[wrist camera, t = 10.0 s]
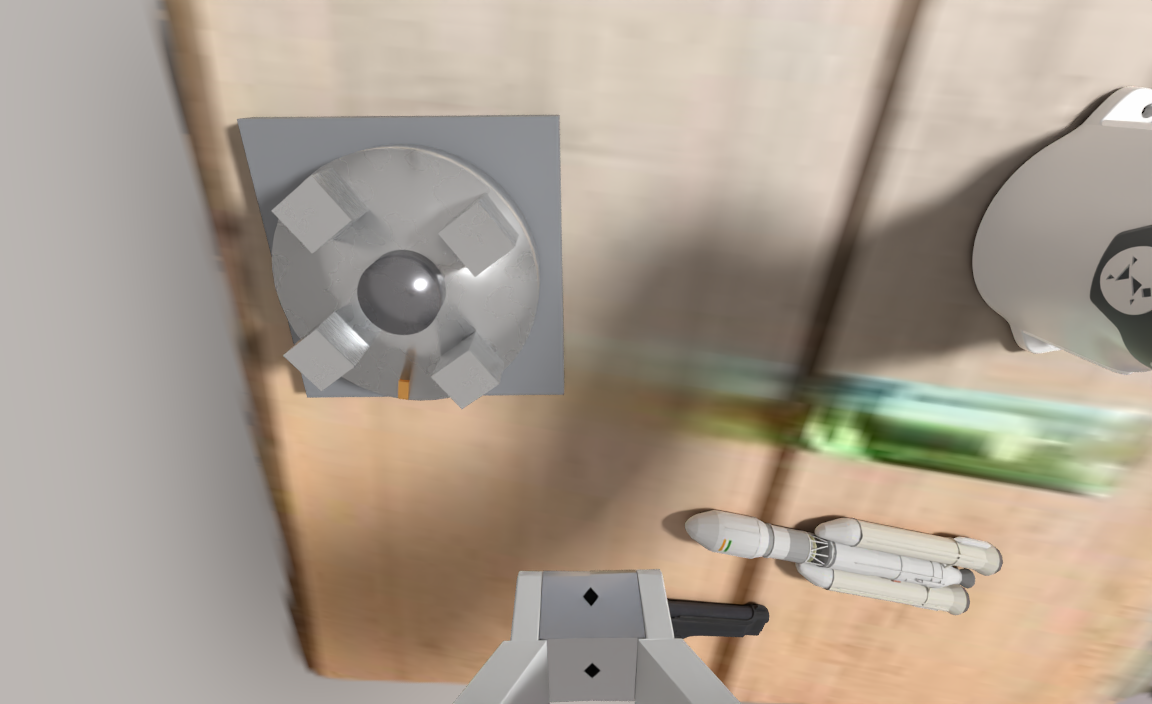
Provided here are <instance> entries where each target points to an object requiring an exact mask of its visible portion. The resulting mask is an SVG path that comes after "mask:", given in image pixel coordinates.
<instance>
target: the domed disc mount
mask: <svg viewBox="0 0 1152 704" xmlns="http://www.w3.org/2000/svg"><path fill="white" fill-rule="evenodd" d="M271 211H272V212H273V213H274V214H275V215H276V216H277V217H278V219H279V220H278V223H277V227H276V230H275V233H274V239H273V247H272V271H273V277H274V284H275V288H276V291H277V295H278V298H279V301H280V304H281V306H282V308H283V310H284V313H285V315H286V317H287V319H288V321H289V322H290V324H291V326H292V327H293V329H294V331H295V332H296V334H297V335H298V336H299V338H300V340H299V341H298V342H297V343H296V344H295V345H294V346H292V347H291V348H290V349H289V350H288V351H287V352H286V353H285V354H284V355H283V356H284V357H285V358H286V359H287V360H288V361H289V362H290V363H291V364H292V365H293V366H295V367H296V368H297V369H298V370H299V371H300V372H301V373H302V374H303V375H304V376H305V377H306V378H307V379H309V380H310V381H311V382H312V383H313V384H314V385H315V386H316V387H317V388H318V389H319V390H320V391H323V390H324V389H325V388H327V387H328V386H329V385H331V384H332V383H333V382H335V381H336V380H337V379H339V378H340V377H341V376H342V377H343V378H345V379H347V380H348V381H350V382H352V383H354V384H356V385H358V386H360V387H363V388H365V389H367V390H370V391H372V392H375V393H379V394H382V395H385V396H389V397H394V398H399V399H407V400H437V399H444V398H450V397H451V398H452V399H453V400H454V401H455V403H456V404H457V405H458V406H459V407H460V408H461V409H463V408H465V407H466V406H467V405H469V404H470V403H472V402H473V401H475V400H476V399H478V398H479V397H481V396H482V395H484V394H485V393H487V392H488V391H490V390H491V389H493V388H494V387H496V386H497V385H499V384H500V380H501V376H502V371H503V370H504V369H505V368H506V367H507V366H508V365H509V364H510V363H511V362H512V361H513V360H514V359H515V357H516V356H517V355H518V353H519V352H520V350H521V349H522V347H523V346H524V344H525V342H526V340H527V338H528V336H529V334H530V331H531V328H532V325H533V323H534V319H535V314H536V309H537V304H538V297H539V289H540V264H539V257H538V252H537V247H536V243H535V240H534V238H533V235H532V232H531V229H530V227H529V225H528V223H527V221H526V219H525V217H524V215H523V213H522V212H521V210H520V209H519V207H518V206H517V204H516V203H515V201H514V200H513V199H512V198H511V197H510V195H509V194H508V193H507V192H506V191H505V190H504V188H503V187H502V186H501V185H500V184H498V183H497V182H496V181H495V180H494V179H493V178H492V177H491V176H490V175H488V174H487V173H486V172H484V171H483V170H481V169H480V168H478V167H477V166H475V165H474V164H472V163H470V162H468V161H467V160H465V159H463V158H461V157H459V156H457V155H454V154H451V153H449V152H446V151H443V150H441V149H437V148H432V147H428V146H424V145H414V144H387V145H382V146H377V147H371V148H368V149H365V150H361V151H358V152H355V153H352V154H349V155H346V156H343V157H340V158H337V159H335V160H334V161H332V162H330V163H328V164H326V165H324V166H322V167H321V168H319V169H318V170H317V171H315V172H314V173H313V174H311V175H310V176H309V177H307V178H306V179H305V180H304V181H303V183H302V184H301V185H300V186H298V187H297V188H296V189H295V190H294V191H293V192H292V193H291V194H289V195H288V196H287V197H286V198H285V199H284V200H283V201H282V202H280V203H279V204H278V205H277V206H276V207H275V208H274V209H273V210H271Z"/></svg>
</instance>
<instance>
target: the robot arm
mask: <svg viewBox="0 0 1152 704" xmlns="http://www.w3.org/2000/svg"><path fill="white" fill-rule="evenodd" d="M1144 107H1145V111H1144V113H1143V114H1142V110H1143V109H1144ZM972 265H973V275H974V280H975V283H976V286H977V288H978V291H979V293H980V294H981V296H982V298H983V299H984V301H985V302H986V303H987V304H988V305H989V306H990V307H991V308H992V309H993V310H994V311H996V312H997V313H998V314H1000V315H1001V316H1002V317H1003V318H1004V319H1006V320H1007V322H1008V323H1009V324H1010V327H1011V330H1012V333H1013V336H1014V339H1015V341H1016V343H1017V344H1018V346H1019V347H1020V348H1022V349H1024V350H1027V351H1029V352H1031V353H1035V354H1038V353H1046V352H1051V351H1057V350H1064V351H1066V352H1068V353H1071V354H1073V355H1075V356H1078V357H1080V358H1082V359H1084V360H1087V361H1089V362H1091V363H1094V364H1096V365H1098V366H1101V367H1103V368H1105V369H1108V370H1110V371H1112V372H1115V373H1119V374H1124V375H1130V374H1132V373H1133V372H1146V371H1151V370H1152V89H1150V88H1144V87H1137V86H1127V87H1123V88H1121V89H1119V90H1117V91H1116V92H1115V93H1113V94H1112V95H1111V96H1110V97H1108V98H1107V99H1106V100H1105V101H1104V102H1103V103H1102V104H1101V105H1100V106H1099V107H1098V108H1097V109H1096V110H1095V111H1094V112H1093V113H1092V114H1091V115H1090V116H1089V117H1088V119H1087V120H1086V121H1085V122H1084V123H1083V124H1082V125H1080V126H1079V127H1078V128H1076V129H1075V130H1074V131H1072V132H1070V133H1069V134H1067V135H1065V136H1064V137H1062V138H1060V139H1059V140H1057V141H1055V142H1053V143H1052V144H1050V145H1048V146H1047V147H1045V148H1044V149H1042V150H1041V151H1039V152H1038V153H1037V154H1035V155H1034V156H1033V157H1031V158H1030V159H1029V160H1028V161H1026V162H1025V163H1024V164H1023V165H1022V166H1021V167H1020V168H1019V169H1018V170H1017V171H1016V172H1015V173H1014V174H1013V175H1012V176H1011V177H1010V178H1009V179H1008V180H1007V181H1006V183H1005V184H1004V185H1003V186H1002V188H1001V189H1000V190H999V192H998V193H997V194H996V196H995V197H994V199H993V200H992V202H991V203H990V205H989V207H988V209H987V211H986V212H985V215H984V217H983V219H982V221H981V223H980V226H979V229H978V232H977V235H976V239H975V243H974V248H973V258H972ZM590 700H593V701H595V700H596V701H635V704H741V703H740V702H739V701H738V700H737V699H736V697H735V696H734V695H733V694H732V693H731V692H730V691H729V690H728V689H727V688H726V686H725V685H724V684H723V683H722V682H721V681H720V680H719V679H718V678H717V677H716V675H715V674H714V673H713V672H712V671H711V670H710V669H709V668H708V667H707V666H706V664H705V663H704V662H703V661H702V660H701V659H700V658H699V657H698V656H697V655H696V653H695V652H694V651H693V650H692V649H691V648H690V647H689V646H688V645H687V644H686V643H685V641H684V640H683V639H680V638H674V633H673V627H672V622H671V617H670V612H669V607H668V601H667V596H666V591H665V586H664V581H663V575H662V572H661V571H660V569H651V570H599V571H519V574H518V577H517V584H516V593H515V602H514V612H513V621H512V630H511V639H510V641H503V642H502V643H501V644H500V646H499V647H498V648H497V649H496V650H495V652H494V653H493V654H492V655H491V657H490V658H489V659H488V660H487V662H486V663H485V664H484V665H483V667H482V668H481V669H480V670H479V672H478V673H477V674H476V675H475V676H474V678H473V679H472V680H471V681H470V683H469V684H468V685H467V686H466V688H465V689H464V690H463V691H462V693H461V694H460V695H459V696H458V698H457V699H456V700H455V701H454V702H453V704H550V702H569V701H590Z"/></svg>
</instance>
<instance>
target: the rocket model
mask: <svg viewBox="0 0 1152 704" xmlns="http://www.w3.org/2000/svg"><path fill="white" fill-rule="evenodd" d="M685 529H686V531H687V533H688V534H689V535H690V537H691V538H692V539H694V540H695V541H696V542H698V543H699V544H701V545H702V546H703V547H705V548H706V549H708V550H710V551H712V552H717V553H722V554H728V555H733V556H738V557H744V558H749V559H752V558H755V557H761V556H762V557H764V558H775V559H780V560H786V561H791V562H796V564H795V565H796V568H797V571H798V572H799V573H800V574H801V575H802V576H804V577H805V578H806V579H807V580H808V581H810V582H811V583H812V584H814V585H816V586H819V587H823V588H824V589H826V590H831V591H836V592H842V593H847V594H853V595H858V596H864V597H869V598H875V599H880V600H886V601H892V602H897V603H903V604H908V605H912V606H915V607H920V608H925V609H931V610H936V611H938V610H941V611H947V612H949V613H950V614H952V615H959V614H961V613H964V612H966V611H967V609H968V608H969V604H970V600H969V595H968V593H967V592H966V590H965V589H964V588H963V587H965V588H971V587H972V586H973V585H974V584H975V576H974V574H973V572H971V571H970V570H969V569H973V570H975V571H977V572H978V573H980V574H982V575H985V576H989V575H992V574H994V573H997V572H998V571H1000V569H1001V566H1002V564H1003V560H1002V555H1001V553H1000V552H999V550H998V549H997V548H995V547H994V546H993V545H992V544H990V543H988V542H986V541H981V540H976V539H971V538H966V537H960V536H959V537H956V538H950V537H941V536H936V535H931V534H926V533H921V532H916V531H911V530H906V529H901V528H896V527H891V526H886V525H881V524H876V523H871V522H866V521H861V520H857V519H855V518H839V519H835V520H832V521H828V522H825V523H821V524H819V525H818V526H817V527H816V529H815V536H816V537H815V536H814V534H813V533H811V534H812V535H811V534H810V533H809V532H805V531H802V530H800V531H799V530H794V529H789V528H784V527H779V526H774V525H771V524H769V523H765V524H764V523H763V522H762V521H760V520H758V519H757V518H755V517H753V516H752V517H751V516H745V515H740V514H735V513H729V512H724V511H719V510H711V511H707V512H703V513H699V514H695V515H694V516H692V517H691V518H689V519H688V520H687V521H686V523H685ZM808 533H809V534H808ZM953 565H955V566H960V567H964V569H960V570H959V569H957V568H953V567H952V566H953ZM966 568H969V569H966ZM959 584H960V585H961V586H960V585H959ZM962 586H963V587H962Z"/></svg>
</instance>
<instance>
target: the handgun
mask: <svg viewBox="0 0 1152 704" xmlns="http://www.w3.org/2000/svg"><path fill="white" fill-rule="evenodd" d="M667 601H668V607H669V612H670V617H671V622H672V627H673V633H674V638H680V639H684V638H687V637H689V636H724V637H744V636H745V635H759V633H760V631H762V629H763V627H764V625H765V623H767V622H768V621H769V612H768V609H767V608H766V607H765V606H763V605H744V606H738V605H727V604H715V603H699V602H684V601H670V600H667Z"/></svg>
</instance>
